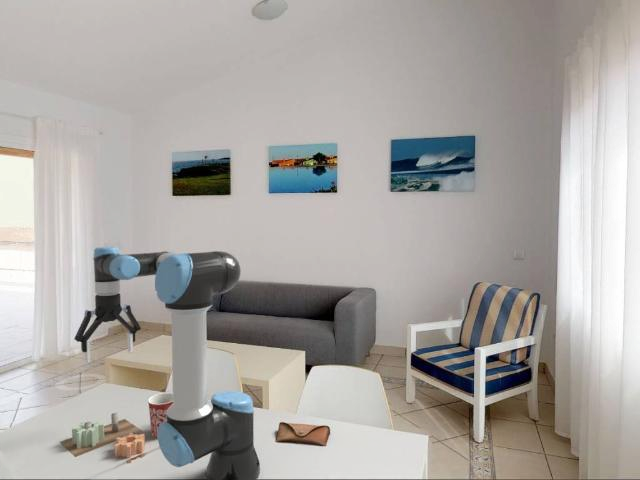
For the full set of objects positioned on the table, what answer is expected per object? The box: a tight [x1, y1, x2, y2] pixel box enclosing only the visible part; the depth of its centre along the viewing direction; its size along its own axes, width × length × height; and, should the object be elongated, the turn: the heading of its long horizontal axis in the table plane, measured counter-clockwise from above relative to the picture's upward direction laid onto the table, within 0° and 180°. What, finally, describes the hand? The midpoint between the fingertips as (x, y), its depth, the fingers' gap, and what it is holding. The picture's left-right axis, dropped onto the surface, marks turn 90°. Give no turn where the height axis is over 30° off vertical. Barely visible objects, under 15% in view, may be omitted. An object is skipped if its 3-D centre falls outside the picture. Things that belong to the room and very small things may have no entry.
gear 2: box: [113, 432, 146, 464], centre depth 135 cm, size 9×8×5 cm
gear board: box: [59, 412, 143, 458], centre depth 144 cm, size 13×21×8 cm, turn 139°
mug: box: [147, 392, 173, 440], centre depth 147 cm, size 13×9×14 cm
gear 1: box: [71, 419, 105, 449], centre depth 140 cm, size 9×8×5 cm
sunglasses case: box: [274, 421, 331, 447], centre depth 146 cm, size 18×7×7 cm, turn 83°
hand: (109, 356), depth 146 cm, fingers open, 13 cm apart
